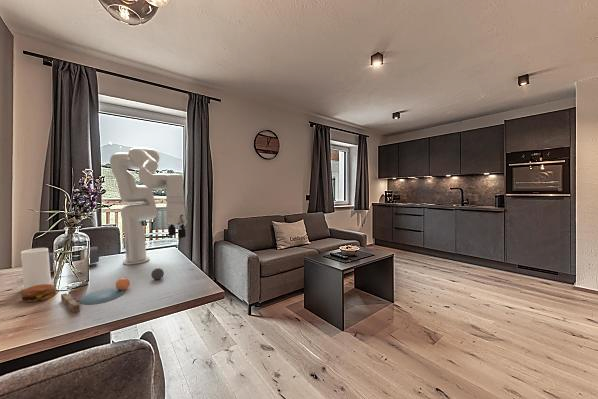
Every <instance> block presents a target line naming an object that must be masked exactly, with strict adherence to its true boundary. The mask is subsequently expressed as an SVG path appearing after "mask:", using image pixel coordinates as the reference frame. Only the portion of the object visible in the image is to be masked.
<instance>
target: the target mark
mask: <svg viewBox="0 0 598 399" xmlns="http://www.w3.org/2000/svg"><path fill="white" fill-rule="evenodd" d="M124 294H125V290H118V289H117V288H116V287H113V288H104V289H100V290H95V291H93V292H90V293H88V294H86V295H84V296H83V297H81V298H80V300H79V303H80V304H82V305H98V304H103V303H107V302H110V301H113V300H115V299H117V298H120V297H122V295H124Z"/></svg>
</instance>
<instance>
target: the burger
mask: <svg viewBox="0 0 598 399" xmlns="http://www.w3.org/2000/svg"><path fill="white" fill-rule="evenodd" d="M56 293H57V289H56V287H55V285H54V284H52V283H51V284H41V285H36V286H32V287H29V288H27V289H25V290H23V291H22V292H21V300H22V301H23V302H26V303H35V302H38V301H47V300H49V299H51V298H53V297H54V296H55V295H56Z"/></svg>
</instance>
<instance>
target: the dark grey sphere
mask: <svg viewBox="0 0 598 399" xmlns="http://www.w3.org/2000/svg"><path fill="white" fill-rule="evenodd" d="M164 274H165V272H164V270H163V268H160V267H157V268H155V269H153V270H152V271H151V274H150V275H151V278H152V279H154V280H157V281H159V280H160V279H162V278H163V277H164Z"/></svg>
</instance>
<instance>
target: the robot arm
mask: <svg viewBox="0 0 598 399" xmlns="http://www.w3.org/2000/svg"><path fill="white" fill-rule="evenodd" d="M159 161H160V154H159V152H158V151H157V150H156V149H154V148H150V147H149V148H147V147H133V148H130V150H128V152H116V153H113V154H112V155H111V156H110V159H109V166H110V169H111V173H112V174H113V176H114V178H115V180H116V184H117V188H118V189H117V190H118V194H119V197H120V199H121V201H122V202H123V203H126V204H129V205H125V206H123V207H122V208H121V210H120V217H121V220H122V225H123V231H124V245H125V246H124V247H125V259H124V260H122V264H123V265H126V266H127V265H130V266H132V265H139V264H143V263H146V262H148V261H150V256H147V248H146V246H147V245H146V233H145V232H146V230H145V227H144V226H143V225H142V223H140V222H145V221H151V220H154V219H156V218H157V214H158V211H157V206H156V205H157V204H156V201H155V196H154V192H153V191H156V190H157V191H160V190H165V195H166V207H165V223H167V228H168V230H167V231H168V236H170V237H171V236H176V235H177V233H178V235H177V236H178V238H179V239H183V238H186V237H187V236H186V229H187V224H188V220H187V218H186V208H185V205H184V204H185V193H184V176H183V174H179V173H155V172H156V171H157V169H158V166H159V165H158V163H159ZM128 169H131V170H138V178H139V181H140V182H141V185H138V184H137V183H136V179H135V176H134V175H133V174H132V173H131V172H130V171H129V170H128ZM133 203H137V204H133ZM138 203H139V204H138ZM176 226H177V227H178V232H176Z"/></svg>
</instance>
